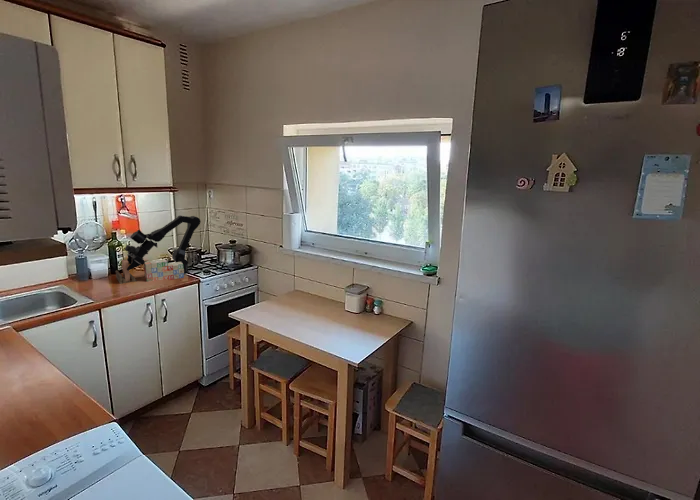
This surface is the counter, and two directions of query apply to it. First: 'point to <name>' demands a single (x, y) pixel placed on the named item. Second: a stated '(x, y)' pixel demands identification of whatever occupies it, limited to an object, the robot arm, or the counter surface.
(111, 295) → the counter surface
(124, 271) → the beige flat slab
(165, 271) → the stack of blocks
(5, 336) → the counter surface
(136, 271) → the counter surface
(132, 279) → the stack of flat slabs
